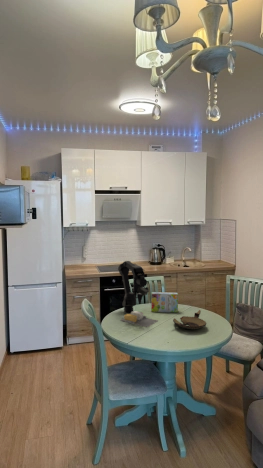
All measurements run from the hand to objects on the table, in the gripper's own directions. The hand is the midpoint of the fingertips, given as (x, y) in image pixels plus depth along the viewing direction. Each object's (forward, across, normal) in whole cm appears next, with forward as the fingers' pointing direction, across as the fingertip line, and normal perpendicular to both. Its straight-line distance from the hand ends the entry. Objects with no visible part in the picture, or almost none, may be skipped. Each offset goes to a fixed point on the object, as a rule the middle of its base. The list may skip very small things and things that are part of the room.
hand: (137, 304), depth 233 cm
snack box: (+12, +30, -6) cm, 33 cm away
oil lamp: (+12, +11, -39) cm, 43 cm away
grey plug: (+10, 0, 0) cm, 10 cm away
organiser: (+12, -4, -5) cm, 13 cm away
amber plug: (+10, -8, 0) cm, 13 cm away
